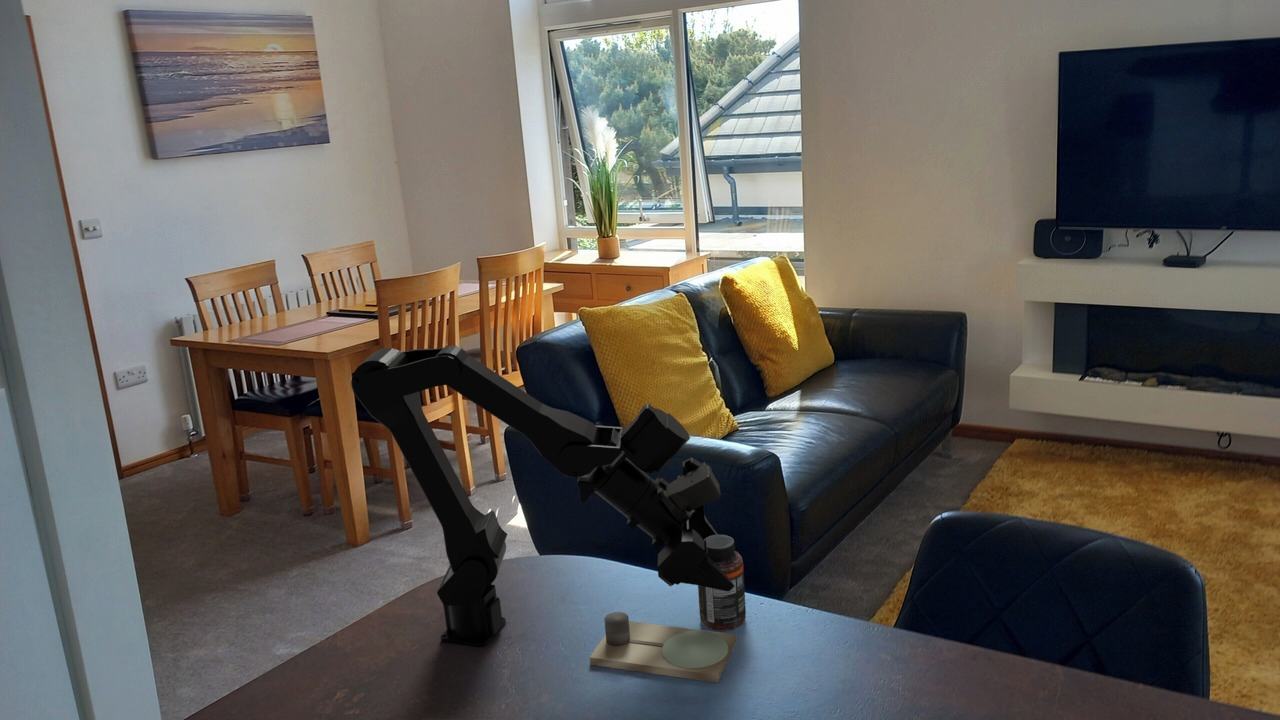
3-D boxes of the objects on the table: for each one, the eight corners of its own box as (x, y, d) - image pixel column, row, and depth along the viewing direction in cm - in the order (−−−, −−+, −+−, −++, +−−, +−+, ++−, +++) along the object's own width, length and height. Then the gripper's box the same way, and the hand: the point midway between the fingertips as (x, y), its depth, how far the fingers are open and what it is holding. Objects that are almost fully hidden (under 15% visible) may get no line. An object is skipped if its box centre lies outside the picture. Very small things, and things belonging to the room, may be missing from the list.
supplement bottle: (701, 608, 130) (696, 530, 127) (746, 608, 129) (743, 529, 126) (698, 632, 124) (693, 551, 121) (745, 633, 123) (741, 551, 120)
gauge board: (590, 664, 119) (587, 635, 118) (616, 626, 127) (614, 598, 126) (717, 682, 113) (715, 652, 112) (736, 641, 121) (735, 612, 120)
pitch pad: (653, 663, 116) (653, 662, 116) (673, 628, 124) (673, 627, 123) (718, 672, 114) (718, 671, 113) (735, 636, 121) (735, 635, 121)
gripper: (679, 479, 112) (780, 561, 114) (678, 425, 130) (765, 497, 132) (616, 546, 114) (716, 625, 116) (624, 484, 132) (710, 553, 134)
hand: (729, 570), depth 125 cm, fingers open, 9 cm apart
